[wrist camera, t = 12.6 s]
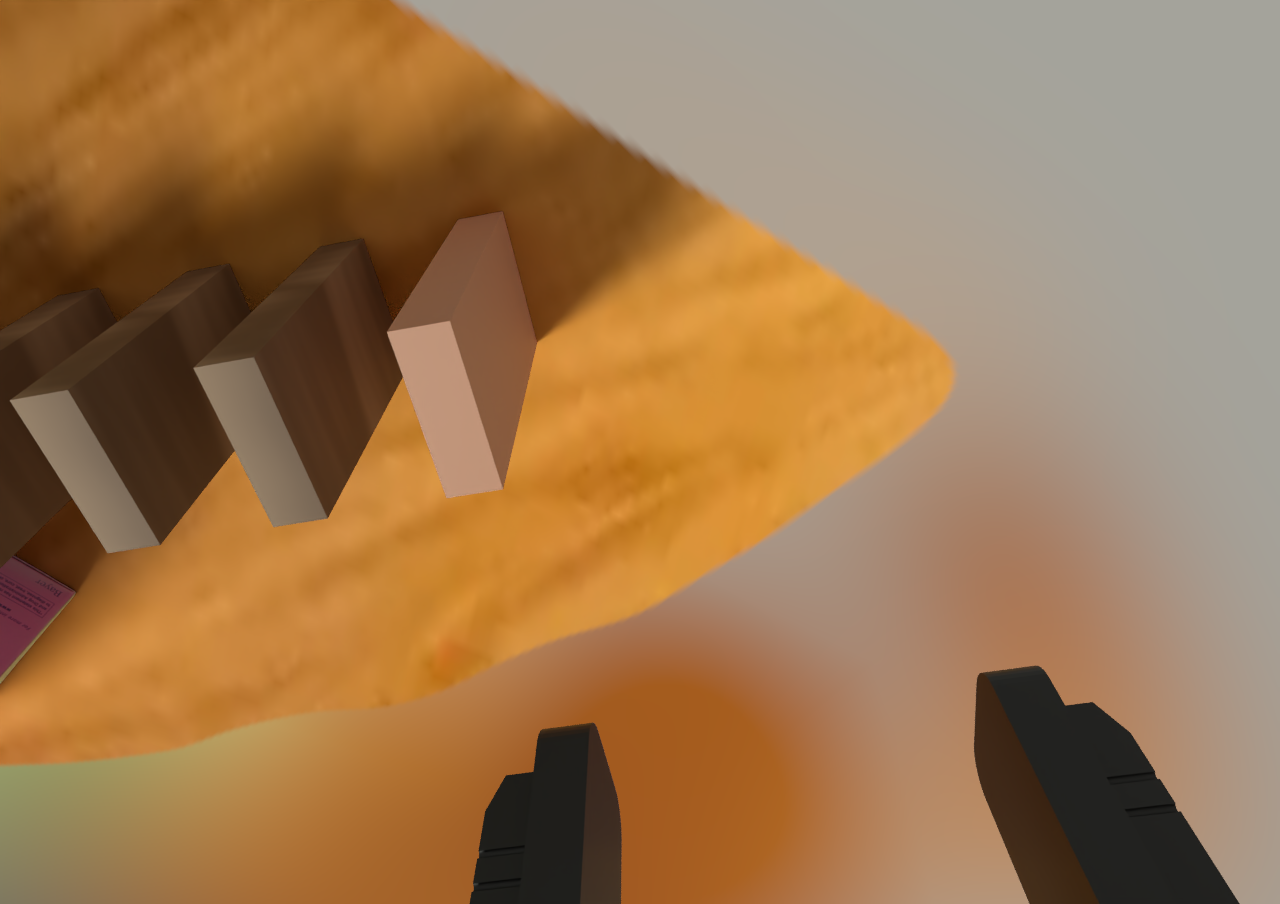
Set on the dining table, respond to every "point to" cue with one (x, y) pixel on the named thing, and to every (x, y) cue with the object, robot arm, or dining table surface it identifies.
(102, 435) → the domino
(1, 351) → the domino
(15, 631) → the box
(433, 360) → the domino end
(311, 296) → the domino
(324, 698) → the dining table surface
